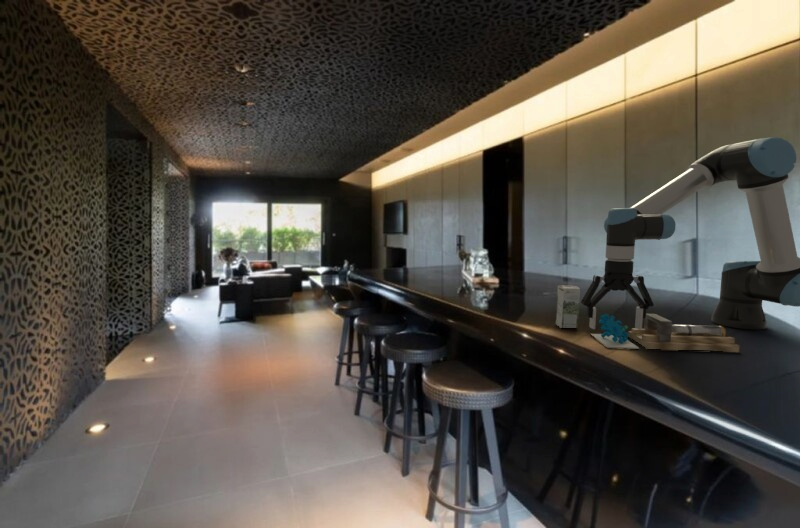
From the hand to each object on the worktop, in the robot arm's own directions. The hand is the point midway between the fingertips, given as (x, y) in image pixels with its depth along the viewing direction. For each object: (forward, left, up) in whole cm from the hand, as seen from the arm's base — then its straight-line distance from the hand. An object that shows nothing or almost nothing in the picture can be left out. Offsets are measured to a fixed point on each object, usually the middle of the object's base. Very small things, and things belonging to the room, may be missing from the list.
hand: (615, 328), depth 123 cm
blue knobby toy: (0, 0, -4) cm, 4 cm away
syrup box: (+9, -16, -5) cm, 19 cm away
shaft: (-23, 0, -2) cm, 23 cm away
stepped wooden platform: (-19, 0, -4) cm, 20 cm away
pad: (0, 0, -4) cm, 4 cm away
